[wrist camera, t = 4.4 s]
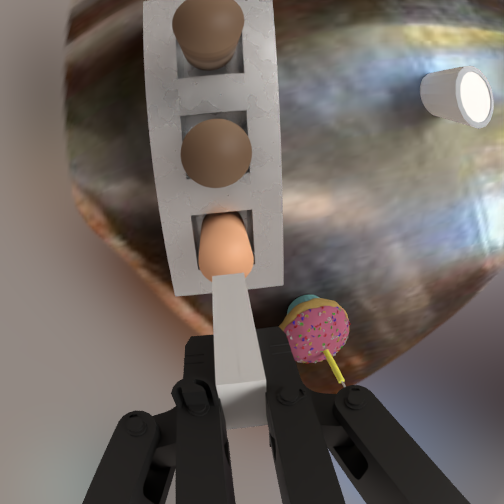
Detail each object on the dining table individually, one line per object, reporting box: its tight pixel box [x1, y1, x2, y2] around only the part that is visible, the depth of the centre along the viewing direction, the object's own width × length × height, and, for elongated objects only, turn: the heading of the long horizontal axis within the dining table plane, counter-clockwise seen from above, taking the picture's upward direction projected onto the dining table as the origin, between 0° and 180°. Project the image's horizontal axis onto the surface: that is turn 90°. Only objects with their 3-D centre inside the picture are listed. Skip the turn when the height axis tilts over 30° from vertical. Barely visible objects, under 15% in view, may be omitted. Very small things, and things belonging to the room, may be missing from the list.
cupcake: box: [279, 295, 350, 387], centre depth 32 cm, size 9×8×12 cm
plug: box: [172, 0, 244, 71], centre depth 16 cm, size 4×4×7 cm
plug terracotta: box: [198, 211, 254, 282], centre depth 25 cm, size 4×4×7 cm
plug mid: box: [181, 119, 252, 188], centre depth 19 cm, size 4×4×7 cm
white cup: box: [420, 66, 494, 129], centre depth 24 cm, size 7×7×7 cm
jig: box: [143, 0, 283, 296], centre depth 24 cm, size 26×10×6 cm, turn 3°
